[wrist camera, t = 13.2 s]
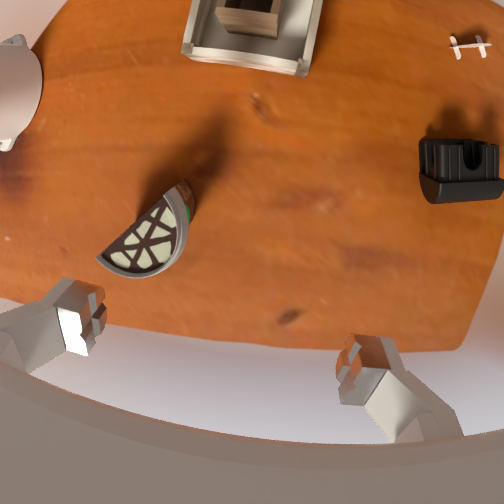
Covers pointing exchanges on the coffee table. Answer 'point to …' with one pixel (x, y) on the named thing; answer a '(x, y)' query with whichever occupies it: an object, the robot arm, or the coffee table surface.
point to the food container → (153, 237)
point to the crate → (254, 39)
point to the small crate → (251, 17)
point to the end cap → (459, 170)
